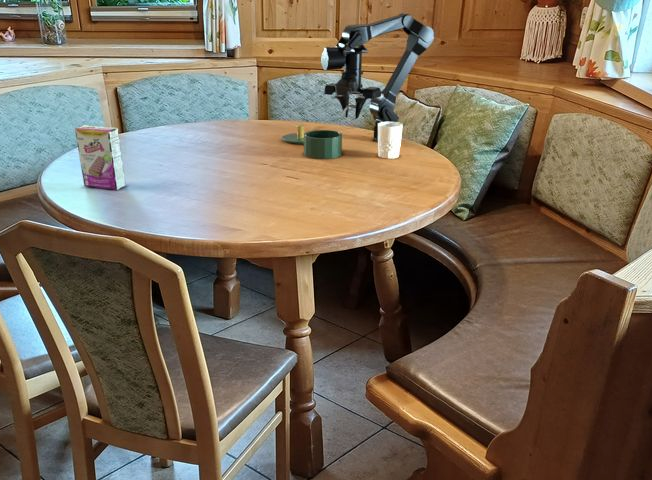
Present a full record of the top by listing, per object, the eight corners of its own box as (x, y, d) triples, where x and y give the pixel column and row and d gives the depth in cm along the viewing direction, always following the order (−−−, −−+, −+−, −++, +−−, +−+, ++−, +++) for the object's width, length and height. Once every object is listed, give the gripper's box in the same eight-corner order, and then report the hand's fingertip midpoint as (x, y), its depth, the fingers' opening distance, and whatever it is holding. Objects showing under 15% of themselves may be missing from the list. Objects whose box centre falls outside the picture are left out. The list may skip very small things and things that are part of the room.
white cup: (373, 157, 234) (374, 125, 229) (380, 152, 240) (382, 120, 235) (396, 160, 231) (398, 127, 226) (403, 154, 237) (405, 122, 232)
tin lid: (325, 138, 257) (326, 123, 254) (307, 146, 247) (307, 131, 244) (293, 134, 262) (293, 120, 259) (274, 142, 252) (274, 127, 250)
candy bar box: (83, 187, 208) (73, 128, 199) (93, 182, 212) (83, 124, 204) (117, 190, 205) (108, 131, 196) (126, 186, 209) (118, 127, 200)
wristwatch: (357, 119, 248) (358, 104, 245) (361, 121, 246) (362, 105, 243) (341, 121, 246) (341, 105, 243) (344, 122, 244) (345, 107, 241)
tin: (347, 152, 240) (348, 132, 237) (330, 160, 231) (330, 140, 228) (315, 148, 245) (315, 128, 242) (297, 156, 236) (297, 136, 233)
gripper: (315, 69, 235) (315, 119, 243) (368, 73, 227) (365, 125, 235) (331, 65, 243) (331, 113, 251) (382, 69, 235) (380, 119, 243)
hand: (351, 118), depth 245 cm, fingers closed on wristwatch, 3 cm apart
